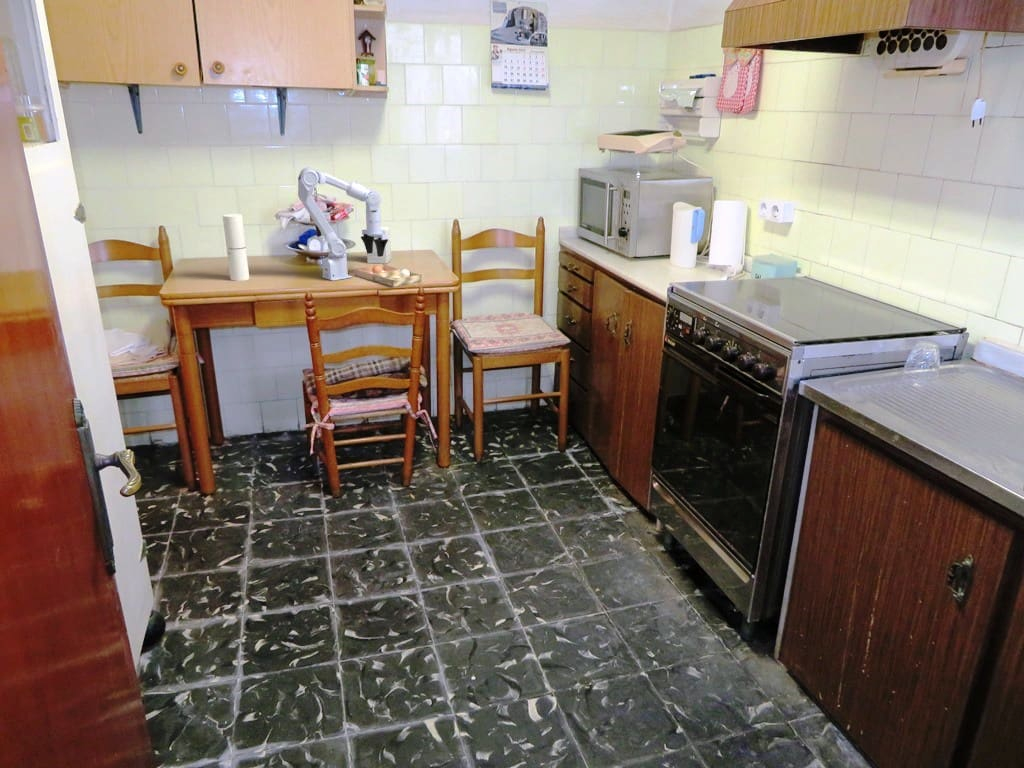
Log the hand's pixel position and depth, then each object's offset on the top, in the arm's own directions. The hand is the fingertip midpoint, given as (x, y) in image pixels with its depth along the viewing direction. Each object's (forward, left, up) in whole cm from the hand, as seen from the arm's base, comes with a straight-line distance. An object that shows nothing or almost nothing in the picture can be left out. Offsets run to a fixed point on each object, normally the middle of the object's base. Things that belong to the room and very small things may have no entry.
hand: (375, 254), depth 297 cm
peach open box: (0, -1, -8) cm, 9 cm away
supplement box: (+16, +21, -9) cm, 28 cm away
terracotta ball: (0, -2, -6) cm, 6 cm away
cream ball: (+4, -14, -6) cm, 16 cm away
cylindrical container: (-45, +30, -9) cm, 54 cm away
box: (0, -14, -8) cm, 17 cm away
